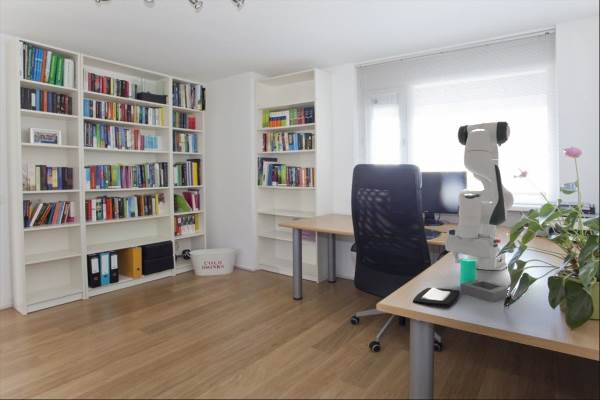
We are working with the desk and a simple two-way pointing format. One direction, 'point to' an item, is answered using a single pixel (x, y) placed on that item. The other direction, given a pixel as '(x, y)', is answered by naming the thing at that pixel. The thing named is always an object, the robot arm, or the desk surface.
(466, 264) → the candle
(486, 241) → the robot arm
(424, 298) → the light switch
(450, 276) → the desk surface
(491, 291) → the socket block
